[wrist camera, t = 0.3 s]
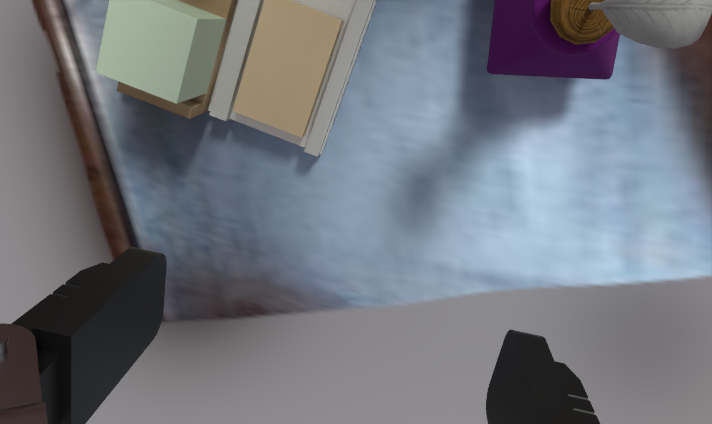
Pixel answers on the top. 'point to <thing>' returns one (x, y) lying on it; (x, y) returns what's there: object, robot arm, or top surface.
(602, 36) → the perfume bottle
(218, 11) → the tan slider with post
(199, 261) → the top surface
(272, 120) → the lane board
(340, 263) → the top surface
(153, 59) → the block
